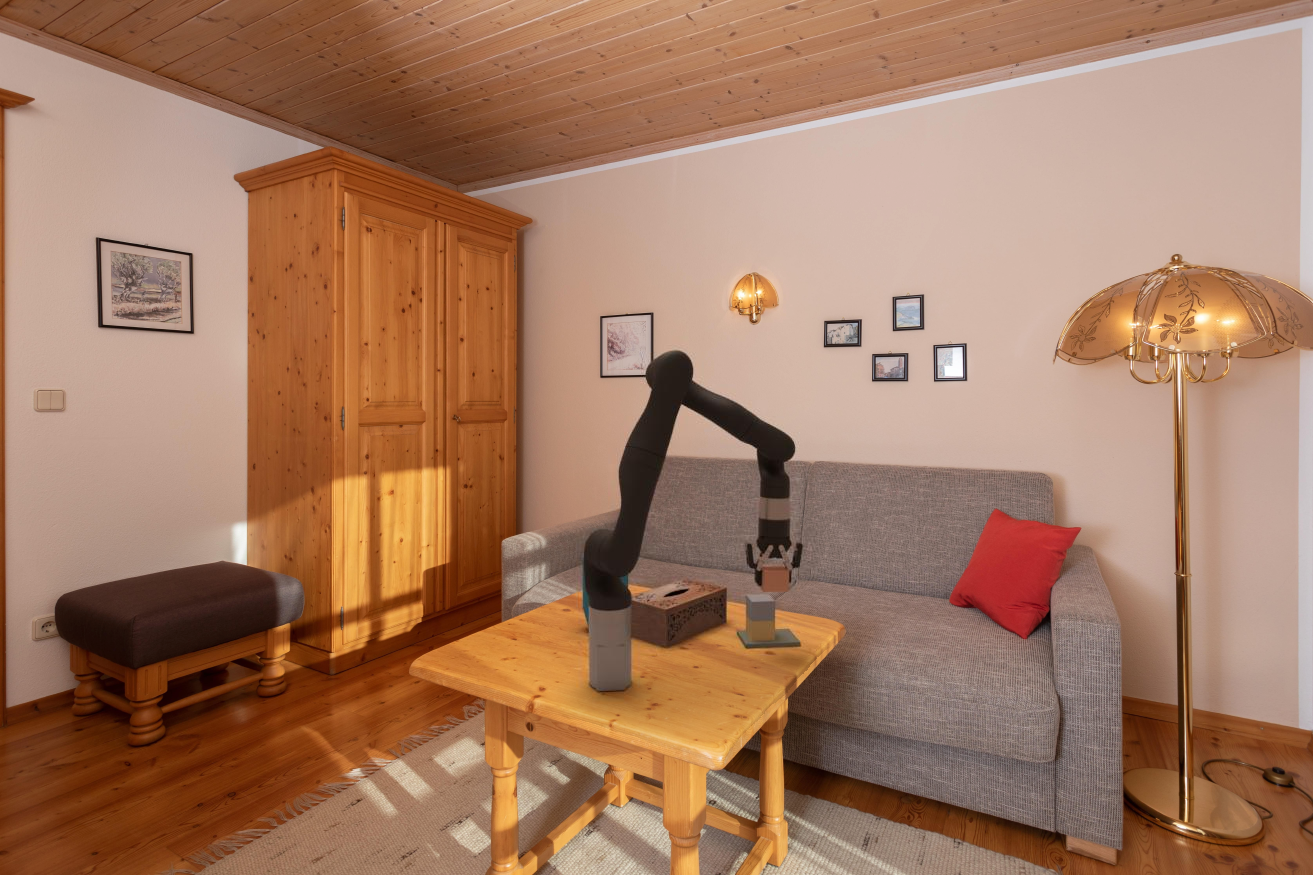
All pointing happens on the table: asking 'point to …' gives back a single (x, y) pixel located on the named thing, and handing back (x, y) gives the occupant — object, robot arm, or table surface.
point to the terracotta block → (775, 578)
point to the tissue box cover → (677, 612)
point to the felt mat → (781, 640)
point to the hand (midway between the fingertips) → (772, 584)
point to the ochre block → (760, 630)
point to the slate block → (760, 607)
